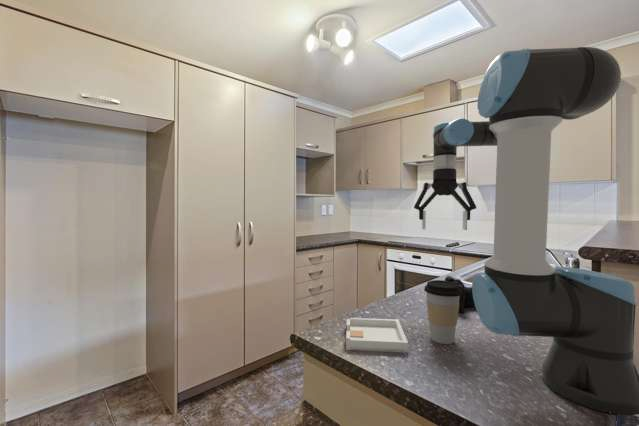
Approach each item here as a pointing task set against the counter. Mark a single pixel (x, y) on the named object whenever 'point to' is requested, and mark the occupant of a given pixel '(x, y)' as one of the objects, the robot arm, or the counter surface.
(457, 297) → the coffee cup
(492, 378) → the counter surface
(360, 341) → the tray
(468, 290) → the camera
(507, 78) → the robot arm
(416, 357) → the counter surface
